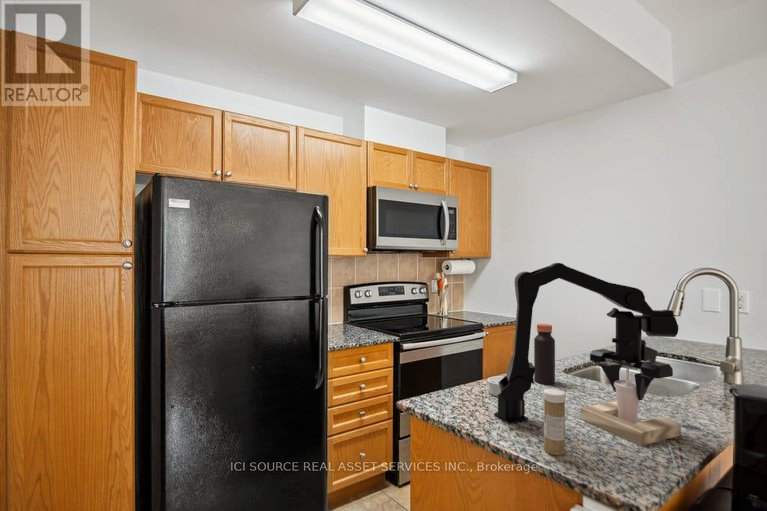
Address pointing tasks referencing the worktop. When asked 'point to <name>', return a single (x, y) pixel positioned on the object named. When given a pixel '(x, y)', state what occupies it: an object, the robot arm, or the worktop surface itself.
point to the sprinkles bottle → (554, 421)
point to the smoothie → (627, 399)
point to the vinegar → (544, 355)
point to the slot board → (630, 424)
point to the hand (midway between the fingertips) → (628, 396)
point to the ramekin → (494, 385)
